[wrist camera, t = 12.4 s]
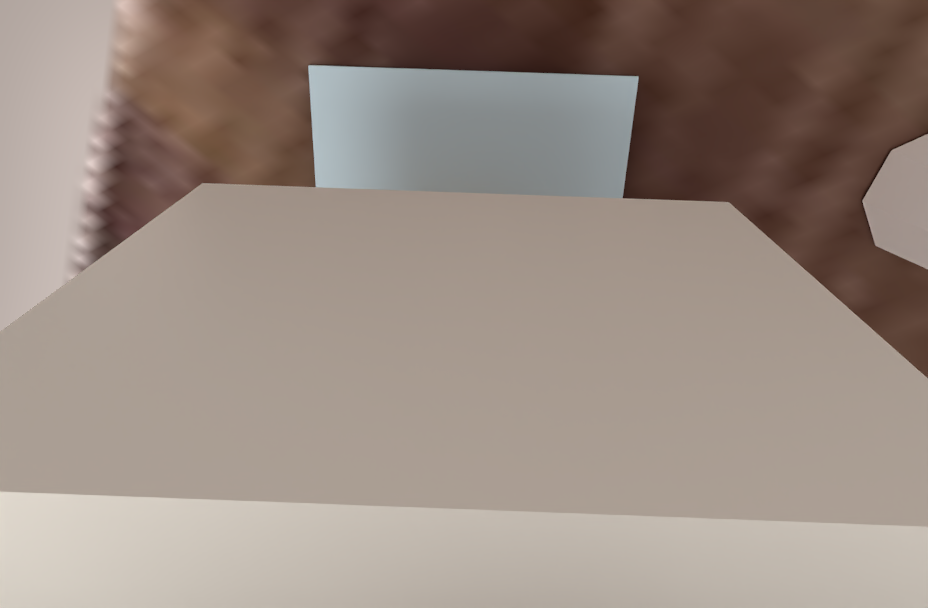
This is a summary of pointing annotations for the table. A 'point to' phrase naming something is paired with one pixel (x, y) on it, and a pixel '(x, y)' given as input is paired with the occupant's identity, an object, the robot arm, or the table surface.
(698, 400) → the plain cream cube
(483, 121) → the plain pale blue panel
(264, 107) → the table surface
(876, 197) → the pepper shaker
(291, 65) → the table surface
